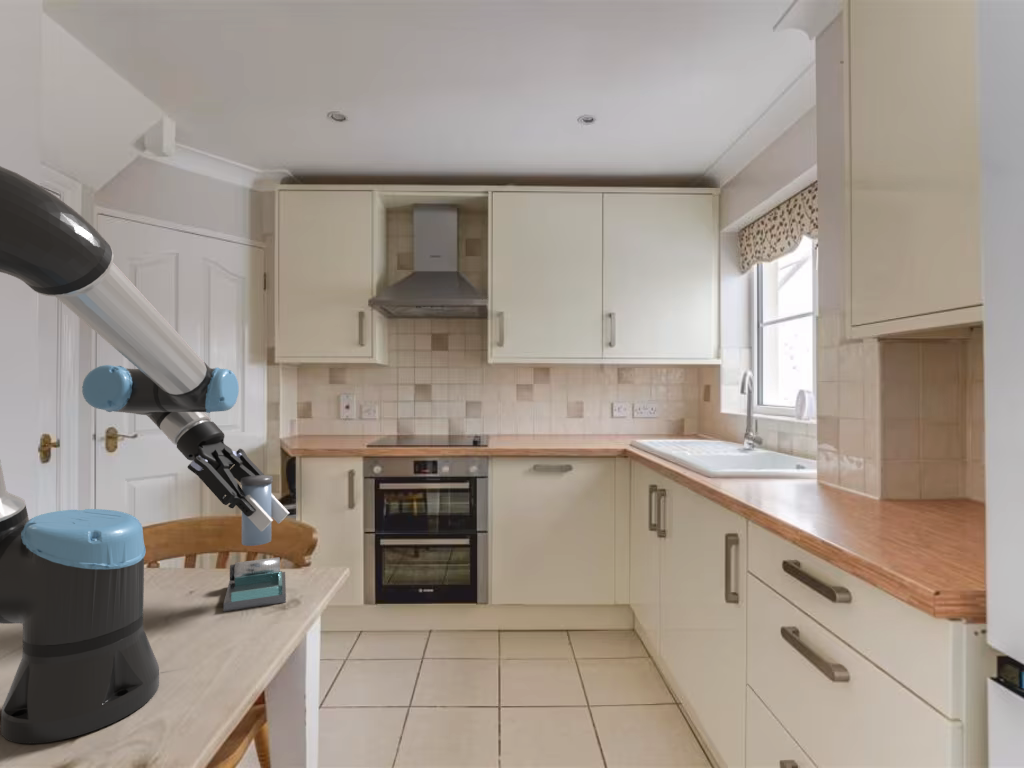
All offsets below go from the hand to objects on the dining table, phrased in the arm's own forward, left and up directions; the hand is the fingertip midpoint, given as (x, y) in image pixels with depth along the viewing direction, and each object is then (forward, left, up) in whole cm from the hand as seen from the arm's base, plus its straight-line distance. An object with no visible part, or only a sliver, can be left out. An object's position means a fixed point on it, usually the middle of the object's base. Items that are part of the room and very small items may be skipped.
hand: (275, 521), depth 98 cm
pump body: (+2, +3, -4) cm, 5 cm away
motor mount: (+4, +3, -14) cm, 15 cm away
